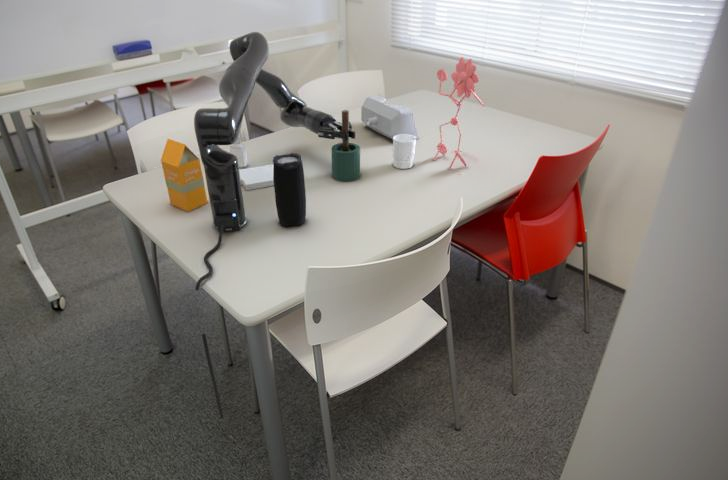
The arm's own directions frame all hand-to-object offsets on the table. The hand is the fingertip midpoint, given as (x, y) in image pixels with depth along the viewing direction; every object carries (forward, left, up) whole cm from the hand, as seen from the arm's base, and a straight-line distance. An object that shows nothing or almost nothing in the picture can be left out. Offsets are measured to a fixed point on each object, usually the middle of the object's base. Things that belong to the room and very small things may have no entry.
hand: (351, 136), depth 164 cm
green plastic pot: (+2, +2, -15) cm, 15 cm away
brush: (+2, +2, -10) cm, 11 cm away
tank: (+41, -18, -15) cm, 48 cm away
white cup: (+8, -19, -15) cm, 26 cm away
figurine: (+9, -39, -15) cm, 43 cm away
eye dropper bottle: (+16, +39, -15) cm, 44 cm away
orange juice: (-12, +53, -15) cm, 56 cm away
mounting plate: (+3, +31, -15) cm, 34 cm away
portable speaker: (-28, +21, -15) cm, 37 cm away
